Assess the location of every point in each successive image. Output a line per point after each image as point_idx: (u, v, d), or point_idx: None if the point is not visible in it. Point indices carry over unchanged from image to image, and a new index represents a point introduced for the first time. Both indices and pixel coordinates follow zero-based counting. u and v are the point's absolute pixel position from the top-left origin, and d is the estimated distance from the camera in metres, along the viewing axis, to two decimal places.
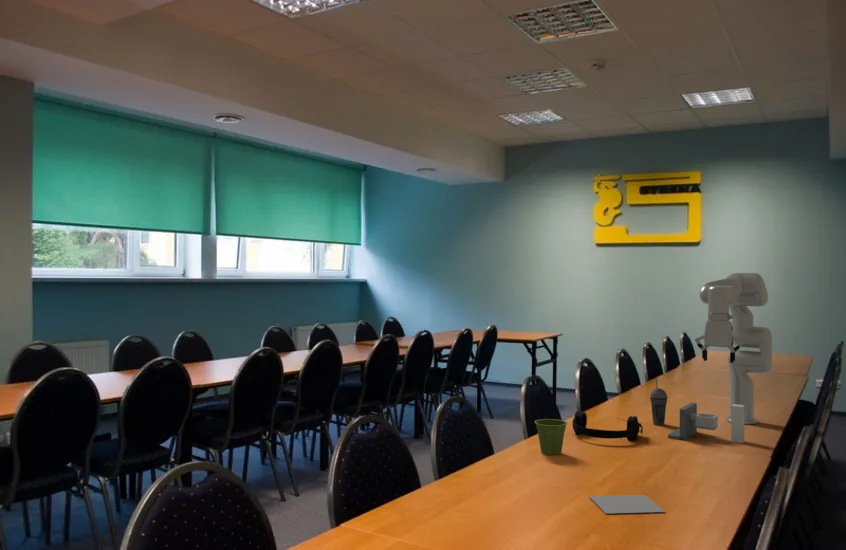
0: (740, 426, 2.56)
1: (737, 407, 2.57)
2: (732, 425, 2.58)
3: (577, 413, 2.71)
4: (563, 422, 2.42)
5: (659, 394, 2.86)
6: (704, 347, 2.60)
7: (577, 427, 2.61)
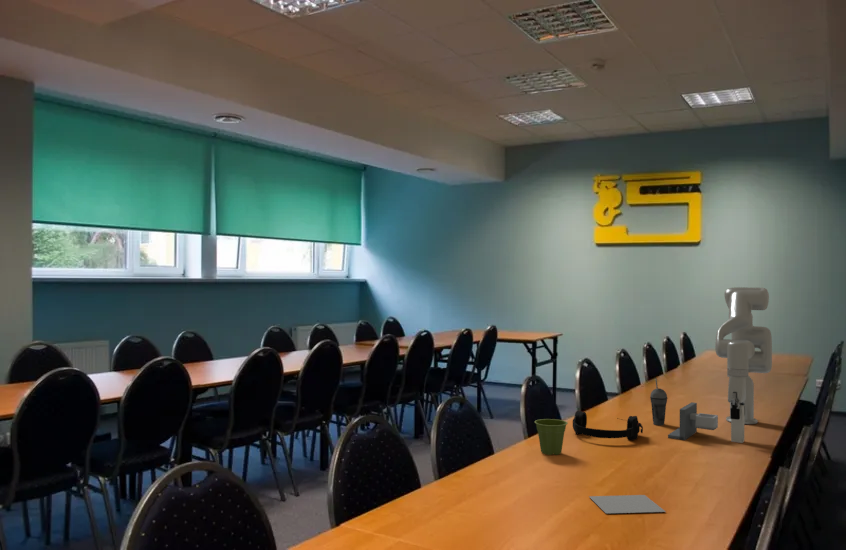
0: (740, 426, 2.56)
1: None
2: (732, 425, 2.58)
3: (577, 413, 2.71)
4: (563, 422, 2.42)
5: (659, 394, 2.86)
6: (738, 405, 2.54)
7: (577, 427, 2.62)
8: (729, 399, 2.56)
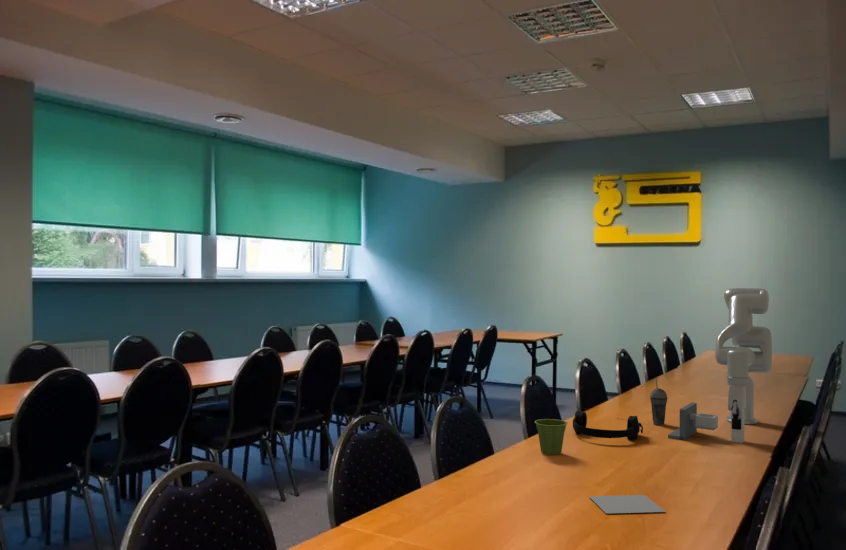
0: None
1: None
2: None
3: (577, 413, 2.71)
4: (563, 422, 2.42)
5: (659, 394, 2.86)
6: None
7: (578, 427, 2.62)
8: (729, 407, 2.56)
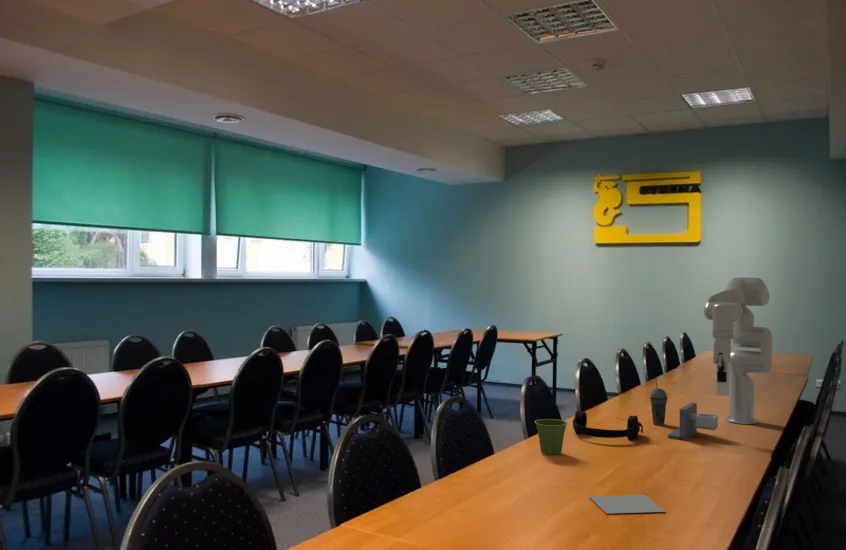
0: None
1: None
2: None
3: (577, 413, 2.71)
4: (563, 422, 2.42)
5: (659, 394, 2.86)
6: (725, 368, 2.58)
7: (578, 427, 2.62)
8: (714, 360, 2.58)
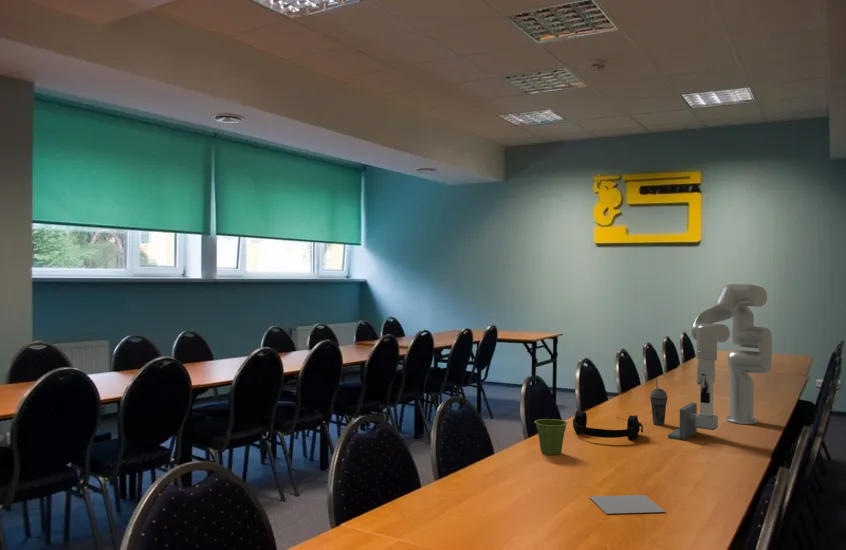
0: None
1: None
2: None
3: (577, 412, 2.72)
4: (563, 422, 2.42)
5: (659, 394, 2.86)
6: (708, 389, 2.61)
7: (578, 426, 2.62)
8: (698, 381, 2.61)
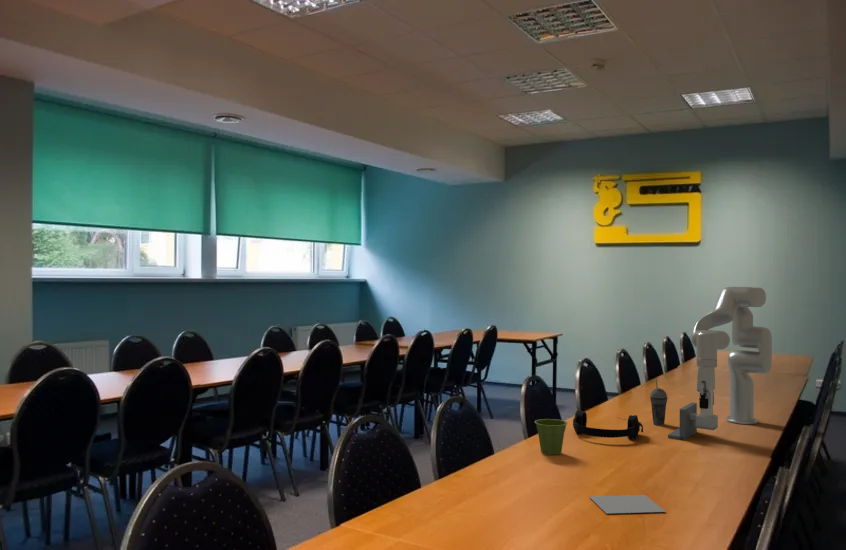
0: (709, 410, 2.61)
1: None
2: (701, 409, 2.63)
3: (578, 412, 2.72)
4: (563, 422, 2.42)
5: (659, 394, 2.86)
6: (707, 395, 2.59)
7: (578, 426, 2.63)
8: (698, 388, 2.61)
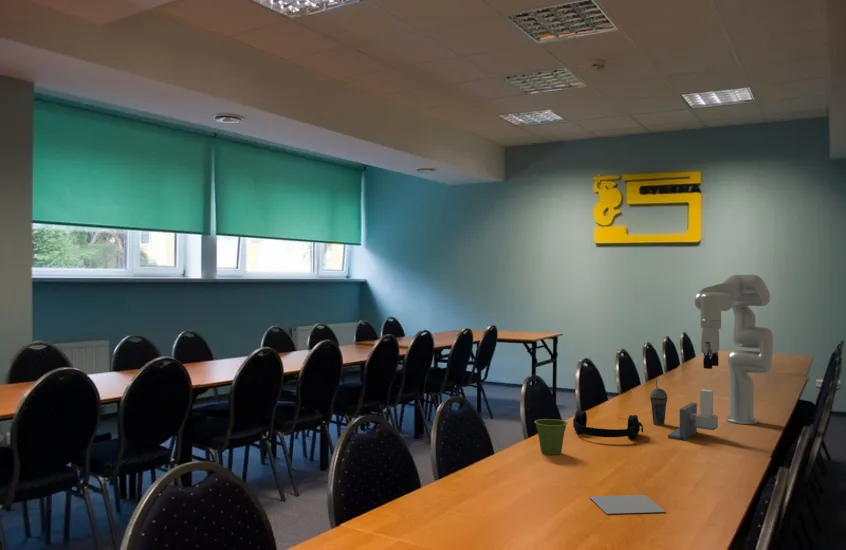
0: (709, 410, 2.61)
1: (706, 392, 2.62)
2: (701, 410, 2.63)
3: (578, 412, 2.72)
4: (563, 422, 2.42)
5: (659, 394, 2.86)
6: (711, 355, 2.60)
7: (578, 426, 2.63)
8: (702, 349, 2.62)
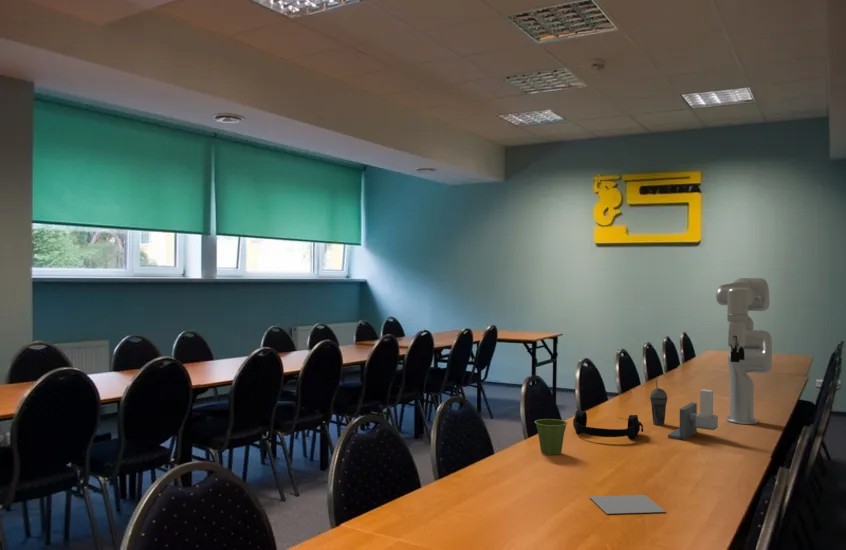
0: (709, 410, 2.61)
1: (706, 392, 2.62)
2: (701, 410, 2.63)
3: (578, 412, 2.72)
4: (563, 422, 2.42)
5: (659, 394, 2.86)
6: (738, 349, 2.63)
7: (578, 426, 2.63)
8: (729, 343, 2.65)
